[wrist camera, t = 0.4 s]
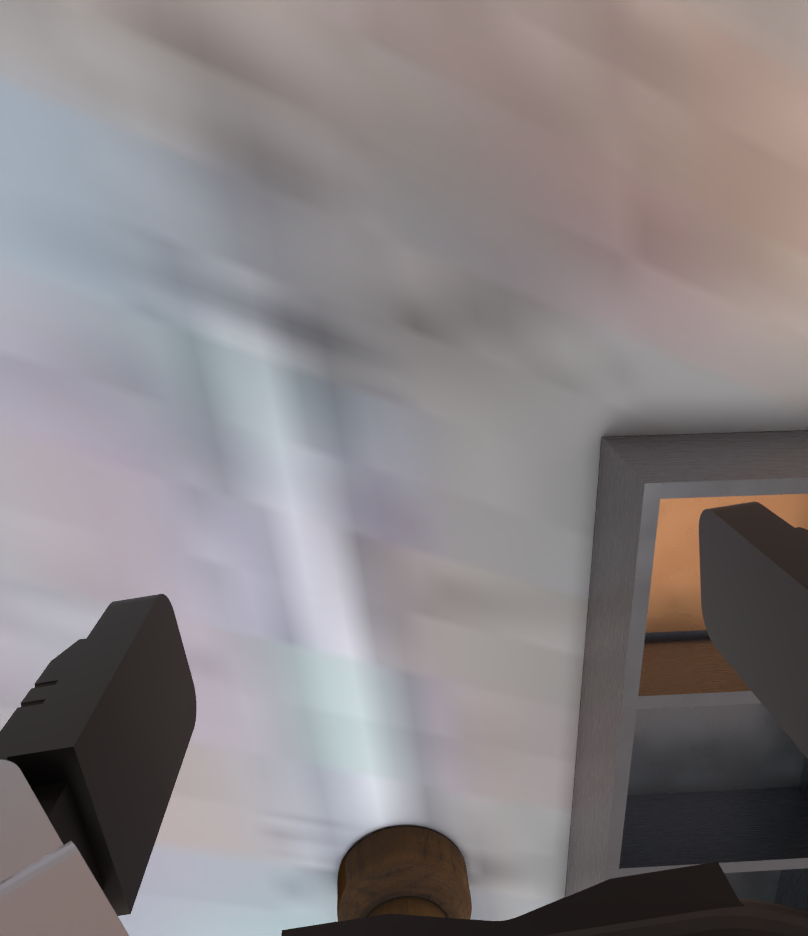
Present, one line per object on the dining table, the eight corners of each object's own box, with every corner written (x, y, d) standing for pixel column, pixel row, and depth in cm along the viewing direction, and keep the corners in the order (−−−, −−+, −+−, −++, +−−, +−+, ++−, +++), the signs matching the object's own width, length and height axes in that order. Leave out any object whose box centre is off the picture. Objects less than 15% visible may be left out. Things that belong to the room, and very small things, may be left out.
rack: (601, 436, 31) (644, 483, 26) (881, 428, 31) (972, 472, 27) (562, 923, 40) (589, 1020, 36) (777, 910, 41) (831, 1004, 36)
